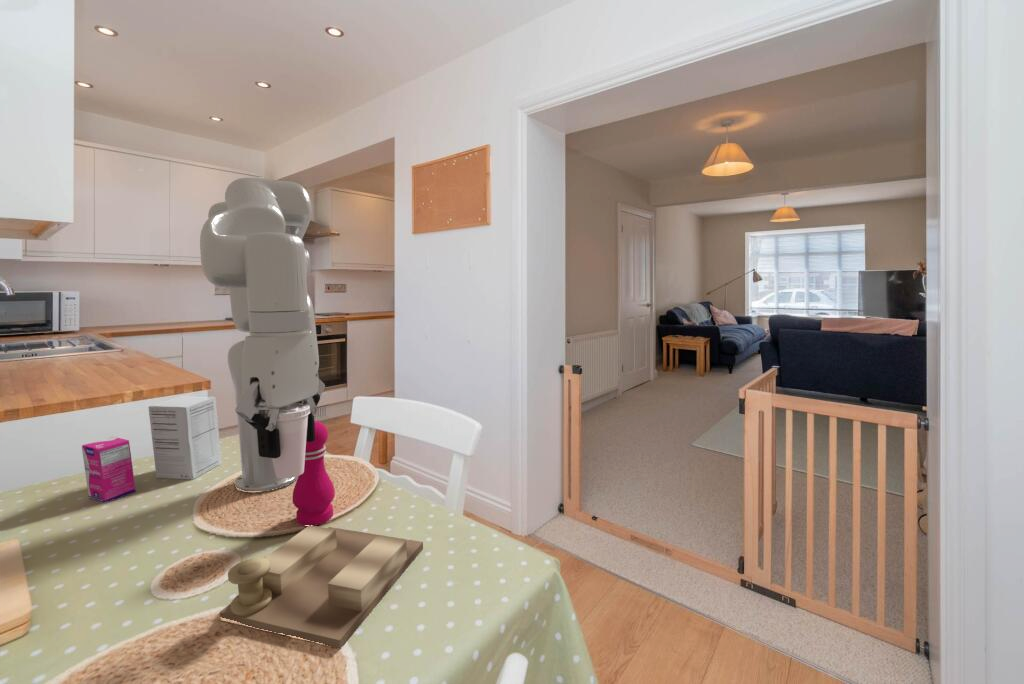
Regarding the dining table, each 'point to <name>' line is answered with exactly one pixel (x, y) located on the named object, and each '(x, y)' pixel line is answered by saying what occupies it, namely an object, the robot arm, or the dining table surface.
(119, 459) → the supplement box
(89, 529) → the dining table surface
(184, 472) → the supplement box
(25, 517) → the dining table surface
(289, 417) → the smoothie
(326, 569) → the notched board
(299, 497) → the pepper mill
